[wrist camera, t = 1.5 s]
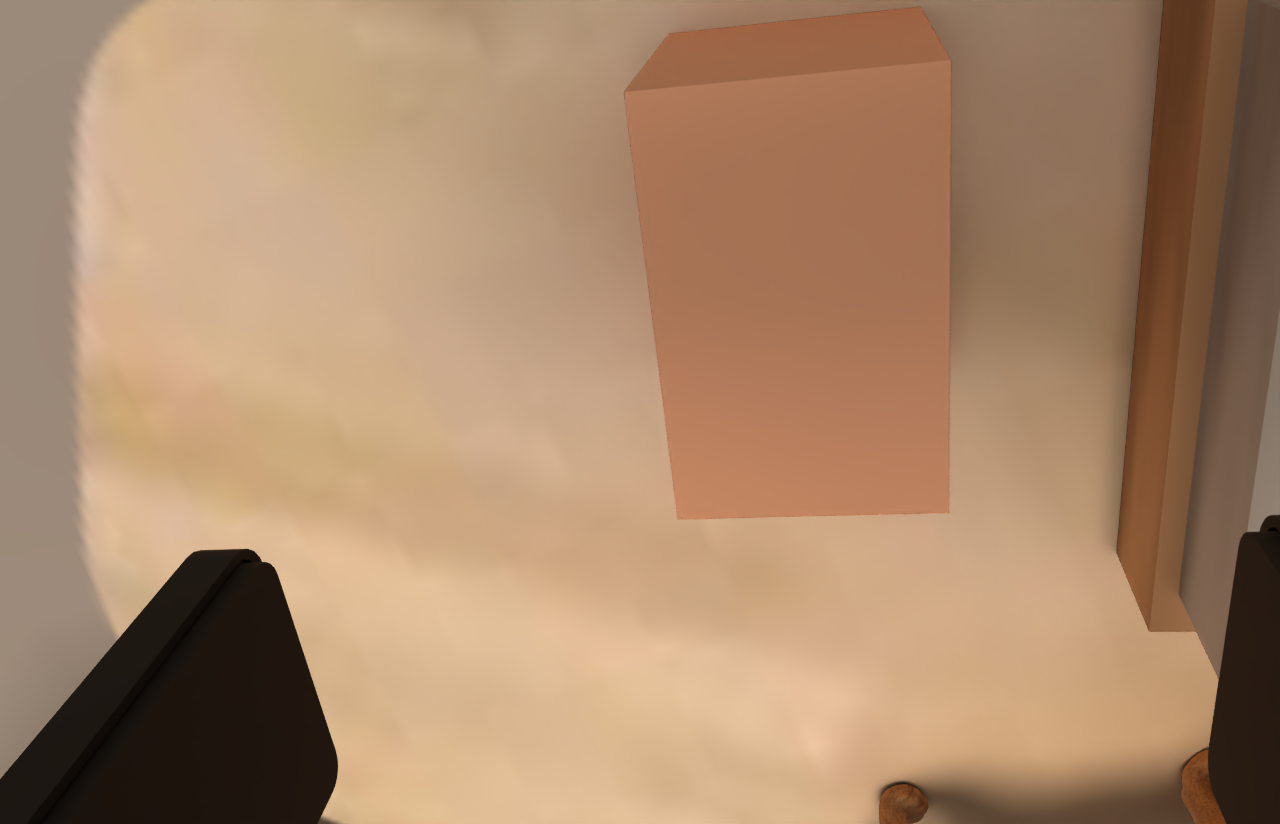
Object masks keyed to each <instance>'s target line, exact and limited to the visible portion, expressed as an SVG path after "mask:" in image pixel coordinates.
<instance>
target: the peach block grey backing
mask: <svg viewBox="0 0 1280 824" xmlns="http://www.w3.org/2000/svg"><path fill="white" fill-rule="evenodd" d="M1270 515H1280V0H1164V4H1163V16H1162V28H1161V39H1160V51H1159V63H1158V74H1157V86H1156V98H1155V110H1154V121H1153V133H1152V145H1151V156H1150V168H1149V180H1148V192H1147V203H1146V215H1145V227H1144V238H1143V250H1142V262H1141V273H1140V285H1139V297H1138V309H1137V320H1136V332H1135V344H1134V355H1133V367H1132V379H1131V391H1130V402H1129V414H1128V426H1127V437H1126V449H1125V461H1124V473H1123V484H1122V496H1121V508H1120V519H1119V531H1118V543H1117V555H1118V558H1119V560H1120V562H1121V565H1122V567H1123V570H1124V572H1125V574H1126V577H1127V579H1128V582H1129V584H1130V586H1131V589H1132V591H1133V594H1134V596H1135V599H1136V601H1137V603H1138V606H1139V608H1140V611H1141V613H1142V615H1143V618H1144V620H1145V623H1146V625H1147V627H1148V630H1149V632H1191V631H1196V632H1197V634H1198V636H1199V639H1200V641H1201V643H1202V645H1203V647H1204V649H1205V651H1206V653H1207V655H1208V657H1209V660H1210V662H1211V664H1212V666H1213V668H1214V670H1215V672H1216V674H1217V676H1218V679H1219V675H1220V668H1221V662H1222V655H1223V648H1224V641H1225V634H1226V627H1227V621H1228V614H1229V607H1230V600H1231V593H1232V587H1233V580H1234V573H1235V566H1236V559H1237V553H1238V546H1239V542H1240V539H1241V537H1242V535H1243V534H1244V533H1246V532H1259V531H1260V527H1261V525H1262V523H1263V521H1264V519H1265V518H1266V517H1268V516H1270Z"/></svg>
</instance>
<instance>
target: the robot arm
mask: <svg viewBox="0 0 1280 824" xmlns="http://www.w3.org/2000/svg"><path fill="white" fill-rule="evenodd" d="M1208 771H1209V778H1210V783H1211V787H1212V791H1213V794H1214V796H1215V799H1216V801H1217V804H1218V806H1219V808H1220V811H1221V813H1222V815H1223V817H1224V820H1225V822H1226V824H1280V515H1270V516H1268V517H1266V518H1265V519H1264V521H1263V523H1262V525H1261V527H1260V531H1259V532H1246V533H1244V534H1243V535H1242V537H1241V539H1240V542H1239V546H1238V553H1237V559H1236V566H1235V573H1234V580H1233V587H1232V593H1231V600H1230V607H1229V614H1228V621H1227V627H1226V634H1225V641H1224V648H1223V655H1222V662H1221V668H1220V675H1219V682H1218V689H1217V696H1216V702H1215V709H1214V716H1213V723H1212V730H1211V736H1210V743H1209V750H1208ZM337 772H338V760H337V754H336V750H335V747H334V744H333V741H332V738H331V735H330V732H329V729H328V726H327V723H326V720H325V717H324V714H323V711H322V708H321V705H320V702H319V699H318V696H317V693H316V690H315V687H314V683H313V680H312V677H311V674H310V671H309V668H308V665H307V662H306V659H305V656H304V653H303V650H302V647H301V644H300V641H299V638H298V635H297V632H296V629H295V626H294V623H293V620H292V617H291V614H290V611H289V608H288V604H287V601H286V598H285V595H284V592H283V589H282V586H281V583H280V580H279V577H278V574H277V572H276V570H275V568H274V567H273V566H272V565H271V564H270V563H267V562H262V561H261V559H260V557H259V556H258V555H257V554H256V553H255V552H254V551H252V550H249V549H229V550H200V551H196V552H193V553H192V554H191V555H190V556H188V557H187V558H186V559H185V561H184V562H183V563H182V564H181V565H180V567H179V568H178V569H177V570H176V571H175V572H174V574H173V575H172V576H171V577H170V578H169V580H168V581H167V582H166V583H165V584H164V586H163V587H162V588H161V589H160V590H159V591H158V593H157V594H156V595H155V596H154V597H153V599H152V600H151V601H150V602H149V603H148V604H147V606H146V607H145V608H144V609H143V610H142V612H141V613H140V614H139V615H138V616H137V618H136V619H135V620H134V621H133V622H132V623H131V625H130V626H129V627H128V628H127V629H126V631H125V632H124V633H123V634H122V635H121V637H120V638H119V639H118V640H117V641H116V642H115V644H114V645H113V646H112V647H111V648H110V650H109V651H108V652H107V653H106V654H105V656H104V657H103V658H102V659H101V660H100V662H99V663H98V664H97V665H96V666H95V667H94V669H93V670H92V671H91V672H90V673H89V675H88V676H87V677H86V678H85V679H84V681H83V682H82V683H81V684H80V685H79V687H78V688H77V689H76V690H75V691H74V692H73V694H72V695H71V696H70V697H69V698H68V700H67V701H66V702H65V703H64V704H63V705H62V707H61V708H60V709H59V710H58V711H57V712H56V714H55V715H54V716H53V717H52V719H51V720H50V721H49V722H48V723H47V724H46V726H45V727H44V728H43V729H42V730H41V732H40V733H39V734H38V735H37V736H36V737H35V739H34V740H33V741H32V742H31V743H30V745H29V746H28V747H27V748H26V749H25V750H24V752H23V753H22V754H21V755H20V756H19V758H18V759H17V760H16V761H15V762H14V763H13V765H12V766H11V767H10V768H9V769H8V771H7V772H6V773H5V774H4V776H3V777H2V778H1V779H0V824H317V823H318V821H319V819H320V817H321V815H322V813H323V811H324V809H325V807H326V805H327V803H328V801H329V799H330V797H331V795H332V792H333V790H334V787H335V784H336V779H337Z"/></svg>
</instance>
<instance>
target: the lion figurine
mask: <svg viewBox="0 0 1280 824" xmlns="http://www.w3.org/2000/svg"><path fill="white" fill-rule="evenodd" d="M1182 786H1183V790H1182V792H1181V798H1182V801H1183V803H1184V805H1185V806H1186V808H1187V809H1188V811H1189V813H1190V815H1191V816H1192V818H1193V820H1194V823H1195V824H1226V822H1225V820H1224V817H1223V815H1222V813H1221V811H1220V808H1219V806H1218V804H1217V801H1216V799H1215V796H1214V794H1213V791H1212V787H1211V783H1210V778H1209V771H1208V750H1207V749H1206V750H1204V751H1202V752H1200V753H1198V754H1197V755H1195V756H1194V757H1193V758H1192V759H1191V760H1190V761H1189V763H1188V764H1187V765H1186V766H1185V768H1184V770H1183V773H1182ZM927 809H928V801H927V799H926V798H925V797H924V796H923V795H922V794H921V792H920V791H919V790H918V789H917V788H915V787H913V786H910V785H906V784H901V785H895V786H893V787H891V788H888V789H887V790H886V791H885V792H884V794H883V796H882V798H881V800H880V805H879V821H880V824H913V823H916V822H918V821H920V820H921V819H922V818H923V816H924V814H925V813H926V811H927Z"/></svg>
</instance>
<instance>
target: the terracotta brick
mask: <svg viewBox="0 0 1280 824" xmlns="http://www.w3.org/2000/svg"><path fill="white" fill-rule="evenodd" d="M624 97H625V105H626V113H627V121H628V129H629V137H630V145H631V153H632V161H633V169H634V177H635V185H636V192H637V200H638V208H639V216H640V224H641V232H642V240H643V248H644V256H645V264H646V272H647V280H648V288H649V296H650V304H651V312H652V320H653V327H654V335H655V343H656V351H657V359H658V367H659V375H660V383H661V391H662V399H663V407H664V415H665V423H666V431H667V439H668V447H669V455H670V462H671V470H672V478H673V486H674V494H675V502H676V510H677V518H678V519H713V518H754V517H796V516H837V515H878V514H920V513H949V425H950V188H951V59H950V57H949V56H948V54H947V52H946V51H945V49H944V47H943V45H942V44H941V42H940V40H939V38H938V37H937V35H936V33H935V32H934V30H933V28H932V26H931V25H930V23H929V21H928V19H927V18H926V16H925V14H924V12H923V11H922V9H921V7H912V8H903V9H894V10H884V11H875V12H866V13H856V14H847V15H838V16H828V17H819V18H810V19H800V20H791V21H782V22H772V23H763V24H754V25H744V26H735V27H726V28H716V29H707V30H698V31H688V32H679V33H670V34H669V35H668V36H667V37H666V39H665V40H664V41H663V42H662V44H661V45H660V46H659V48H658V49H657V50H656V51H655V53H654V54H653V55H652V57H651V58H650V59H649V60H648V62H647V63H646V64H645V66H644V67H643V68H642V69H641V71H640V72H639V73H638V75H637V76H636V77H635V78H634V80H633V81H632V82H631V84H630V85H629V86H628V87H627V89H626V90H625V91H624Z"/></svg>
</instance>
